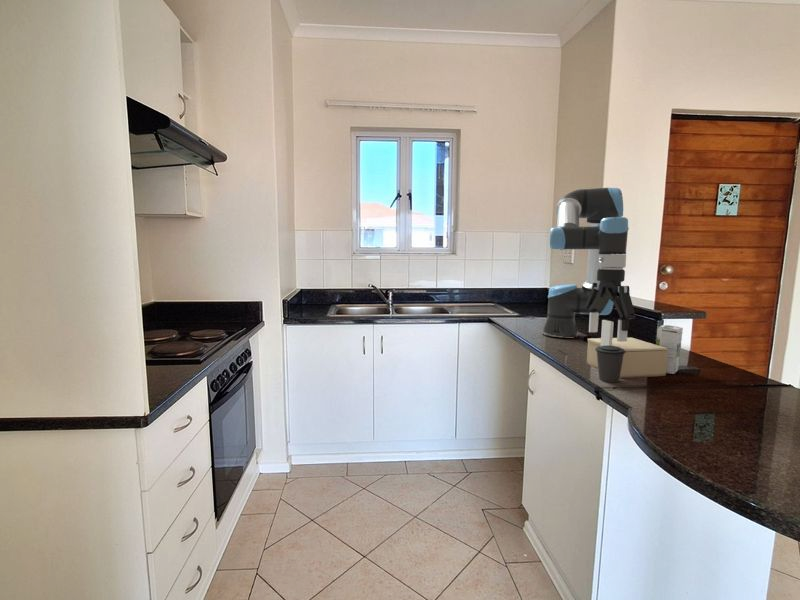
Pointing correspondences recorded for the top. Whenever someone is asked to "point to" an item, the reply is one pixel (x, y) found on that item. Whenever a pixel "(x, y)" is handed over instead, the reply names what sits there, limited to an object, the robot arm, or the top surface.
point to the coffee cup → (609, 362)
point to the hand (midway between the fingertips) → (606, 336)
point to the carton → (635, 362)
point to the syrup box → (670, 345)
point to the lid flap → (627, 345)
